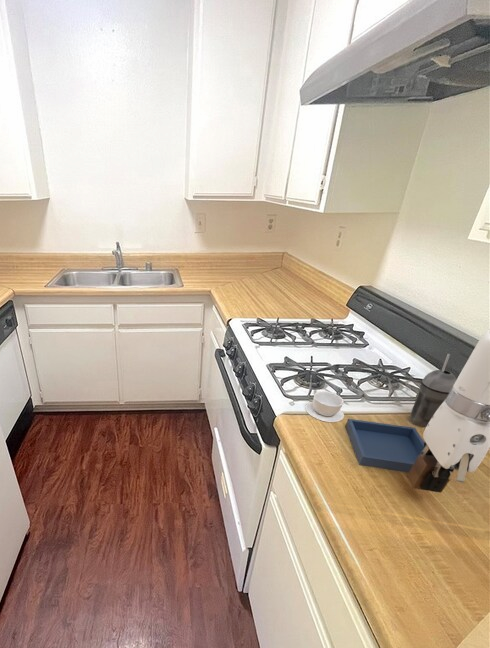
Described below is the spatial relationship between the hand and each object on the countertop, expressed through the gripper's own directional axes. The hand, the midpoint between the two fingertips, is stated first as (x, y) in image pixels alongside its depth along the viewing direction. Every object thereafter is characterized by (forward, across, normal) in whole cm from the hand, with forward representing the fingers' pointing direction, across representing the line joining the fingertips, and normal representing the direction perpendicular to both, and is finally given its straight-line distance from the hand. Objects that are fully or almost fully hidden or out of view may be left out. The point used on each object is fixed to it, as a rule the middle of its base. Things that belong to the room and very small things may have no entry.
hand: (425, 481), depth 67 cm
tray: (+5, +15, +1) cm, 16 cm away
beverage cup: (+5, +29, -11) cm, 32 cm away
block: (+1, 0, 0) cm, 1 cm away
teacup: (+5, +28, +13) cm, 31 cm away
